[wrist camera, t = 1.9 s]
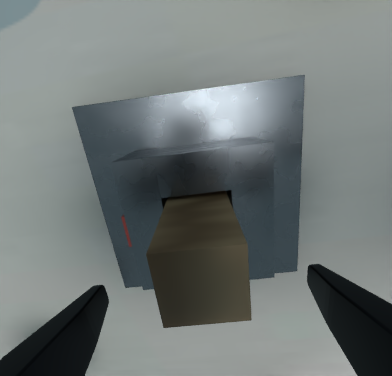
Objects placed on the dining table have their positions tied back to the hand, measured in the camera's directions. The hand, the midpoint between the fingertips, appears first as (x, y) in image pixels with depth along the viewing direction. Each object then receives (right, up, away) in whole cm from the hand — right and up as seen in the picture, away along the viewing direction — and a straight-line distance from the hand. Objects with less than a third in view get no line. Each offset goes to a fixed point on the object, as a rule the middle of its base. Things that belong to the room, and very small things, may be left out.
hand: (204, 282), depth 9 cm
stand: (0, +3, +10) cm, 11 cm away
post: (0, +3, +10) cm, 11 cm away
